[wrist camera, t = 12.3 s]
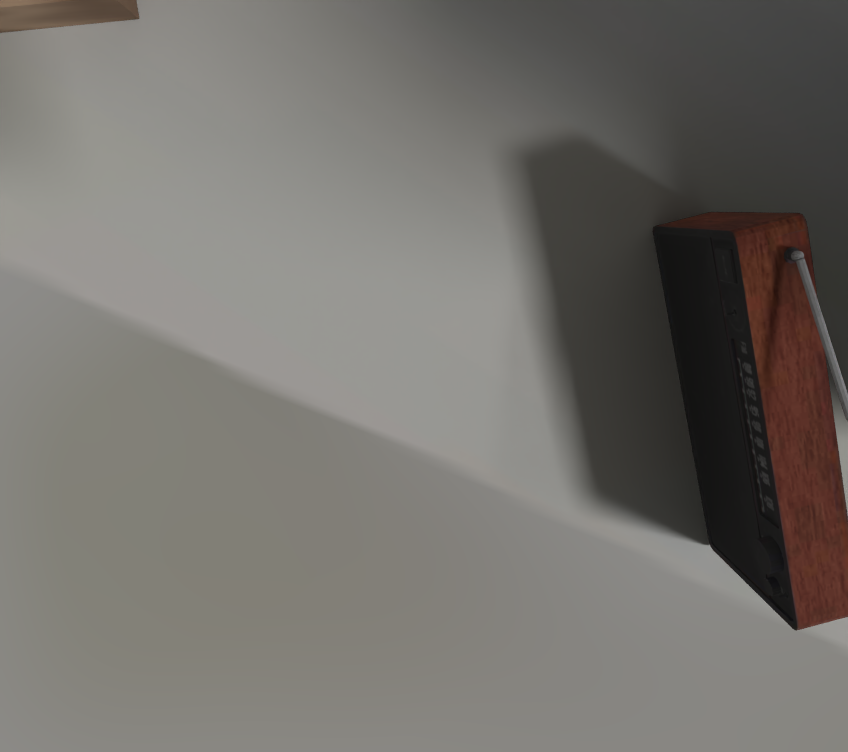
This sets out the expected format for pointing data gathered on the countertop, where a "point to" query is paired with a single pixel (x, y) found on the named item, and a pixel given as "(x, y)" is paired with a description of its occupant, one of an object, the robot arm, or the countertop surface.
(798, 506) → the radio
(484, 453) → the countertop surface
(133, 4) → the walnut plinth
